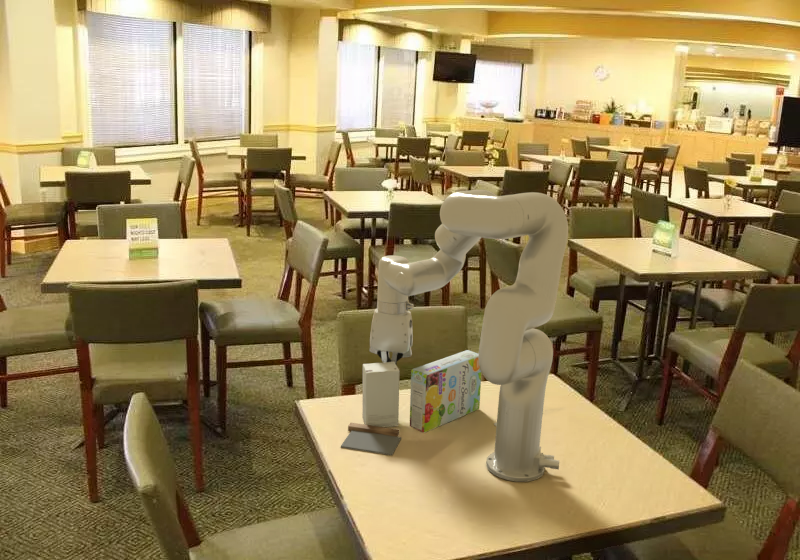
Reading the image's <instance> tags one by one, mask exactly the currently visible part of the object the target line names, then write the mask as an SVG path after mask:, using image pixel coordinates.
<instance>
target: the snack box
mask: <svg viewBox="0 0 800 560" xmlns="http://www.w3.org/2000/svg"><path fill="white" fill-rule="evenodd" d="M478 356H479V352H475V351H472V350H468V349H466V350H464V351H460V352H457V353H455V354H452V355H449V356H446V357H444V358H440V359H437V360H435V361H432V362H429V363H426V364H423V365H420V366H417V367H415V368H412V369H411V370H410V371H411V373H410V402H409V403H410V404H409V405H410V406H409V427H410V428H413V429H416V430H418V431H419V432H422V433H424V434H425V433H427V432H429V431H431V430H434V429H436V428H438V427H441V426H444V425H445V424H447V423H450V422H452V421H454V420H457V419H459V418H461V417H463V416H466V415H468V414H471V413H473V412H475V411H477V410H480V404H481V402H480V401H481V385H482V384H481V383H482V372H481V370H480V366H479V359H478Z"/></svg>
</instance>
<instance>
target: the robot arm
mask: <svg viewBox="0 0 800 560" xmlns="http://www.w3.org/2000/svg"><path fill="white" fill-rule="evenodd" d="M439 217H440V222H441V224H440V225H439V226H438V227H437V229H436V230H435V232H434V240H435V242H436V245H437V246H438V248H439V250H438V251H437V252H436V253H435V255H433V256H432V257H431V258H429V259H423V260H418V261H413V262H410V261H409V259H408V258H406V257H405V256H402V255H401V256H400V255H393V254H392V255H385V256H382V257H381V258H380V259H379V260H378V270H377V271H378V272H377V273H378V275H377V276H378V277H377V295H376V296H377V303H376V308H375V309H374V310H373V311H374V312H373V316H372V321H371V326H370V333H369V334H370V335H369V336H370V337H369V352H370V353H372V354H375V355H377V356H378V357H379V358H380V359H381V361H382V362H381V363H385V362H395V364H396V366H397V364H398V362H399V360H401V359H403V358H404V359H405V358H410V357H412V355H413V353H412V352H413V351H412V347H413V341H414V340H413V337H414V335H413V317H412V311H410V310H414V307H415V306H414V303H411V302H410V300H409V297H410V296H416V295H420V294H423V293H427V292H432V291H435V290H440V289H441V288H443V287H445V286H446V285H447V284H448V283H450V282H451V281H452V280H453V279H454V278H455V277H456V276H457V275H458V274H459V273H460V272H461V270H462V269H463V267H464V265H465V262H466V257H467V255H466V254H467V253H468V252H469V251H470V250H471V249H472V248H473V247H474V246H475V245H476V244H477V243H478V242H479V240H481V239H482V238H483V239H490V240H493V239H494V240H508V239H514V238H519V237H524V236H528V240H527V243H526V244H525V246H524V248H523V250H522V252H521V254H520V257H519V262H518V270H517V275H516V278H515V281H514V283H513V284H511V285H508V286H505V287H502V288H499V289H497V290H496V291H495V292H494V293H493V294H491V296H490V297H489V299H488V301H487V303H486V305H485V308H484V313H483V314H484V315H483V319H482V327H481V332H480V333H481V334H480V338H479V339H480V340H479V346H478V354H479V356H478V359H479V366H480V370H481V375H483V377H484V379H486V381H487V382H490V383H491V384H493V385H496V386H499V387H500V388H499V392H498V393H499V394H498V402H497V403H498V404H497V405H498V406H497V415H496V417H497V418H496V422H497V427H496V426H495V427H496V429H495V440H494V441H495V442H494V451H493V452H492V453H490V454H489V455H488V456H487V457H486V464H485V466H486V468H487V469H488V470H489V472H490V473H491V474H493V475H494V476H496V477H498V478H500V479H503V480H507V481H509V482H518V483H519V482H525V483H526V482H531V481H535V480H537V479H540V478H541V477H542V476H543V475H544V474H545V468H547V469H553V470H559V469H560V460H558V459H555V455H553V454H544V452H542V446H540V445H541V437H542V436H541V435H542V425H543V414H544V405H545V397H546V388H547V382H548V378H549V374H550V371H551V367H552V363H553V358H554V357H553V356H554V348H553V344H552V341H551V339H550V338H549V337H548V335H547V334H546V333H545V332H543V331H542V330H540V329H537V328H538V327H540V326H542V325H543V326H544V325H545V324H547V323H548V322H549V321H550V320H551V318H553V316H554V313H555V308H556V303H557V296H558V291H559V285H560V280H561V272H562V267H563V266H562V265H563V260H564V256H565V252H566V248H567V244H568V238H569V223H568V219H567V218H568V217H567V215H566V213H565V211H564V209H563V207H562V206H561V204H559V202H558V201H557V200H556V199H554V197H551V196H550V195H548V194H547V193H546V194H545V193H542V192H533V191H531V192H521V193H515V194H505V195H498V194H495V193H494V192H492V191H490V190H487V189H472V190H464V191H463V190H461V191H456V192H453V193H451V194H450V195H448V196H447V197H446V198H445V199H444V200H443V202H442V204H441V206H440V210H439ZM390 353H392V354H391V355H392V356H391V357H390ZM397 367H398V366H397Z"/></svg>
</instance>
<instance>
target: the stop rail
mask: <svg viewBox="0 0 800 560" xmlns="http://www.w3.org/2000/svg"><path fill="white" fill-rule="evenodd" d="M352 430H356V431H363V432H370V433H376V434H383V435H390V436H396V437H399V435H400V429H398V428H397V429H396V428H391V427H378V426H371V425H365V423H364V424H363V423H356V422H350V423H349V424H348V426H347V431H349V432H351V431H352Z"/></svg>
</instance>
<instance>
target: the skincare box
mask: <svg viewBox="0 0 800 560" xmlns="http://www.w3.org/2000/svg"><path fill="white" fill-rule="evenodd" d="M400 372H401V371H400V369H399V367H398V366H396V364H395V362H385V363H384V362H373V363H363V364H362V413H361V414H362V420H363V423H364V425H371V426H378V427H385V428H391V427H399V410H400V407H399V406H400V405H399V404H400Z"/></svg>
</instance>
